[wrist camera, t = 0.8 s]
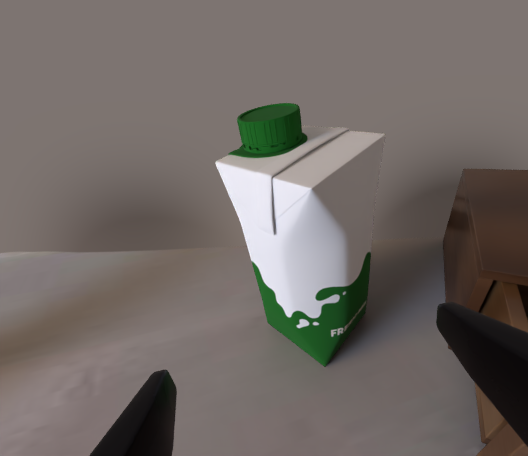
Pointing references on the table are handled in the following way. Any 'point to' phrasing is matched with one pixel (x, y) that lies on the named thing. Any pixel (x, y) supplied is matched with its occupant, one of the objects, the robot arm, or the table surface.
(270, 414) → the table surface
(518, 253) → the cabinet
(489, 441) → the drawer
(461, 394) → the table surface
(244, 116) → the milk carton
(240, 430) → the table surface
